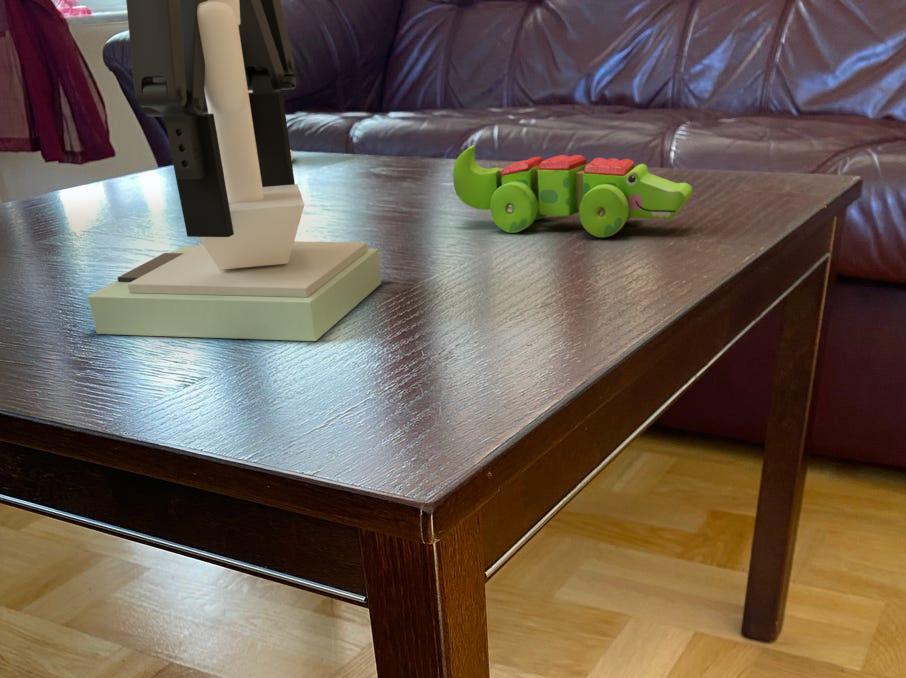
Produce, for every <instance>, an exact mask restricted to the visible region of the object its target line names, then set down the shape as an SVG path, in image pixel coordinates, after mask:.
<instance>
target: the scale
mask: <svg viewBox="0 0 906 678" xmlns="http://www.w3.org/2000/svg"><path fill="white" fill-rule="evenodd" d="M379 253H380V252H379V248H368V243H367V242H363V241H295V240H294V244H293V248H292V251H291V255H290V258H289V262H288V263H286V264H275V265H265V266H254V267H243V268H232V269H222V270H219V268H218V267H217V265H216V263H215V262H214V260H213V259H212V257H211V256H210V254H209V253H208V251H207V250H206V248H205V247H204V245H203V244H202V243H201V244H199V245H195V246H194V245H183V246H181V247H179V248H176V250H174V251H171V252H164V253H162V254H159V255H158V256H156V257H153V258H152V259H149V260H148V261H146V262H144V263H142V264H140V265H139V266H136V267H134V268H133V269H131V270H129V271H127V272H125V273H123V274H121V275H119V276H117V280H115V282H112V283H110V284H109V285H107V286H104V287H102V288H101V289H99V290H97V291H95V292H93V293H91V294H89V295H87V300H88V304H89V308H90V312H91V316H92V321H93V324H94V328H95V332H96V334H97V335H117V336H118V335H119V336H120V335H121V336H149V337H150V336H151V337H174V338H175V337H179V338H209V339H233V340H235V339H236V340H237V339H238V340H264V341H266V340H267V341H268V340H269V341H294V342H295V341H296V342H316V341H318V340H319V339H320V338H321V337H322V336H323V335H324V334H326V333H327V332H328V331H329V330H330V329H331V328H333V327H334V326H335V325H336V324H337V323H338V322H339V321H340V320H342V319H343V318H344V317H345V316H346V315H347V314H348V313H350V312H351V311H352V310H353V309H354V308H356V306H357V305H358V304H360V303H361V302H362V301H363V300H364V299H365V298H367V297H368V296H369V295H370V294H371V293H372V292H374V291H375V290H376V289H377V288H378V287H379V286H380V285H381V284H382V275H381V264H380V254H379Z"/></svg>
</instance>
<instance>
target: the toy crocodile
mask: <svg viewBox="0 0 906 678" xmlns="http://www.w3.org/2000/svg"><path fill="white" fill-rule="evenodd" d="M475 150H476V144H472V145H470V146H469V147H468V148H467V149H465V150H463V152H461V154H459V156H458V157H457V158H456V160H455V162H454V164H453V170H452V181H453V187H454V192H455V194H456V196H457V197H458V199H459V200H460V201H461V202H462V203H463V204H465V205H466V206H468V207H471V208H473V209H477V210H481V211H482V210H483V211H484V210H485V211H489V212H490V215H491V218H492V220H493V222H494V223H495V225H496V226H497V228H499V229H500V230H502V231H504V232H506V233H519V232H522V231H523V230H526V229H527V228H529V227H530V226H531V225H532V224H533V223H534V221H538V220H541V219H544V218H545V217H547V216H556V217H557V216H558V217H559V216H560V217H570V216H573V215H576V214H578V215H579V220H580V223H581V225H582V226H583V229H584V230H586V232H588V234H590V235H592V236H594V237H597V238H608V237H611V236H614V235H615V234H616V233H617V232H619V231H621V230H622V228H624V226H625V224H626V222H627V221H629V220H630V219H673V218H674V217H675V216H676V215H677V214H678V213H679V212H680V211H681V210H682V208H683V206H684V205H685V204H686V203H687V201H688V200H689V199H690V198H691V197H692V195H693V187H692V185H691V184H689V183H688V182H675V181H672V180H669V179H666V178H665V177H660V176H658V175H656V174H653V173H650V172H649V167H648V166H647V165H646V164H645V163H639V164H637V165H635V162H634V161H633V160H632V159H630V158H624V159H621V160H619V159H618V158H614V157H611V158H609V159H607V158H606V159H605V158H603V157H596V158H594V159H593V160H592V161H590V162H589V163H587V159H586V158H585V156H583V155H581V154H574V155H571V156H567V155H566V154H559V155H556V156H553V157H550V158H546V159H545V160H544V159H543V157H541V156H534V157H530V158H528V159H527V160H525V159H523V160H519V161H516V162H514V163H511V164H509V165H507V166H505V167H503V168H501V167H491V168H484V167H482V166H480V165H479V164H478V163H477V161H476V157H475Z"/></svg>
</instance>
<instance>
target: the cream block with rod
mask: <svg viewBox="0 0 906 678" xmlns="http://www.w3.org/2000/svg"><path fill="white" fill-rule="evenodd" d="M197 18H198V25H199V31H200V37H201V43H202V48H203V54H204V60H205V85H204V97H205V102H206V107H207V114H214V120H215V126H216V132H217V137H218V143H219V149H220V155H221V161H222V167H223V173H224V179H225V185H226V190H227V196H228V202H229V208H230V214H231V220H232V226H233V232H234V234H233V235H232V236H230V237H197V238H198V239H199V241H200V242H201V244H203V245H204V247H205V248H206V250H207V251H208V253H209V254H210V256H211V257H212V259H213V260H214V262H215V263H216V265H217V267H218V268H219V270H222V269H232V268H243V267H254V266H265V265H275V264H286V263H288V262H289V258H290V255H291V251H292V248H293V244H294V241H295V239H296V237H297V232H298V229H299V225H300V222H301V219H302V216H303V215H302V214H303V211H304V208H305V202H304V200H303V196H302V193H301V191H300V190H301V189H300V188H299V185H298V183H297V184H296V183H295V185H282V186H270V187H262V181H261V175H260V168H259V161H258V155H257V148H256V141H255V135H254V128H253V121H252V115H251V108H250V101H249V94H248V88H247V81H246V74H245V68H244V61H243V54H242V48H241V41H240V34H239V25H240V6H239V0H208V1H206V2H202V3H200V4H199V5H198V7H197Z"/></svg>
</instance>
